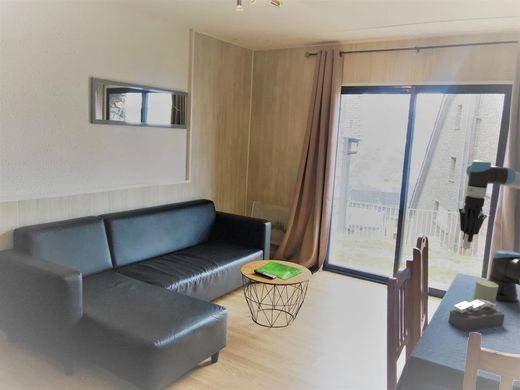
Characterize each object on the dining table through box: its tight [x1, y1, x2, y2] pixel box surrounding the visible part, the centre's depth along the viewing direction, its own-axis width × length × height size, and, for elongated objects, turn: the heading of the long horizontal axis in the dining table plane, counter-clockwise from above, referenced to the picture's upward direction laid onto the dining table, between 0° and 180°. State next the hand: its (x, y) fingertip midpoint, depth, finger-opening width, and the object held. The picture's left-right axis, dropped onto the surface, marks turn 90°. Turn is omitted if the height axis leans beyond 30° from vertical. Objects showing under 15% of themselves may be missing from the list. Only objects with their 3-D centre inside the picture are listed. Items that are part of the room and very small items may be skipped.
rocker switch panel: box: [448, 306, 505, 332], centre depth 174 cm, size 22×8×6 cm, turn 112°
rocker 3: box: [479, 299, 498, 310], centre depth 177 cm, size 6×4×2 cm
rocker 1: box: [453, 300, 473, 313], centre depth 172 cm, size 6×4×2 cm
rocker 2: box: [469, 300, 485, 311], centre depth 175 cm, size 6×4×2 cm
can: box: [472, 279, 498, 305], centre depth 192 cm, size 9×9×12 cm
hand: (466, 248), depth 184 cm, fingers closed
